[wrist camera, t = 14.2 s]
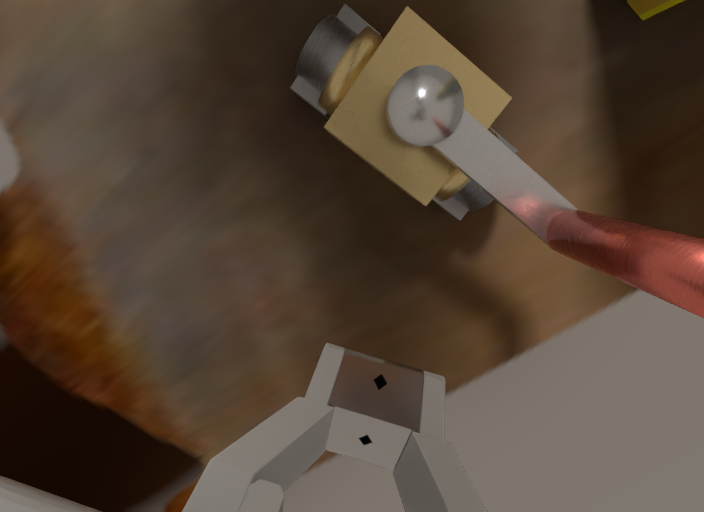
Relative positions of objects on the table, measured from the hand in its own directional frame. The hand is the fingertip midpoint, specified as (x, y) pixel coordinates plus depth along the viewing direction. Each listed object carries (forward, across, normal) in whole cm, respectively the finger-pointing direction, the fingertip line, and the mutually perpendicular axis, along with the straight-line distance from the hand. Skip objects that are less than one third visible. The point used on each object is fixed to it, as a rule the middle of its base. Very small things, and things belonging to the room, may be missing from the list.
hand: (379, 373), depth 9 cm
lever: (+16, -4, -1) cm, 16 cm away
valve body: (+24, +2, 0) cm, 24 cm away
